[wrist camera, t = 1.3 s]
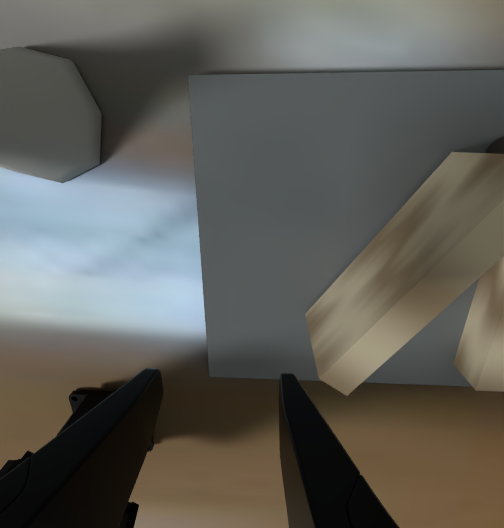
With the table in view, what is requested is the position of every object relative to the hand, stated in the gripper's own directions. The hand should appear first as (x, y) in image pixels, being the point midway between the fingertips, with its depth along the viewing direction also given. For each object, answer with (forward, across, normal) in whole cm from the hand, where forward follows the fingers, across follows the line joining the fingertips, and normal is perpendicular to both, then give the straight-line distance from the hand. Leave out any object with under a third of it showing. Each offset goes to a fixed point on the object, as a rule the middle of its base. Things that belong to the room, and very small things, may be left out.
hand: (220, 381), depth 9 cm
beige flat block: (+11, -8, -1) cm, 14 cm away
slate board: (+12, -7, 0) cm, 14 cm away
